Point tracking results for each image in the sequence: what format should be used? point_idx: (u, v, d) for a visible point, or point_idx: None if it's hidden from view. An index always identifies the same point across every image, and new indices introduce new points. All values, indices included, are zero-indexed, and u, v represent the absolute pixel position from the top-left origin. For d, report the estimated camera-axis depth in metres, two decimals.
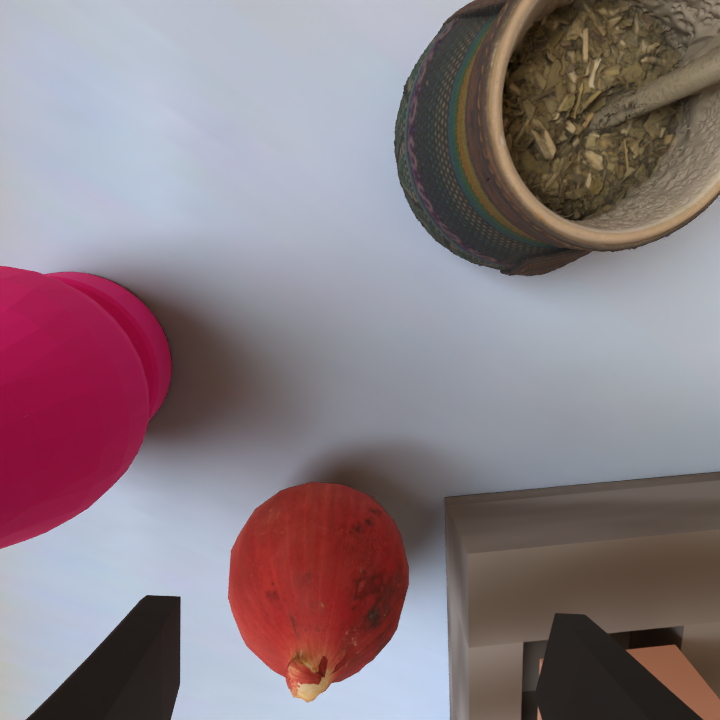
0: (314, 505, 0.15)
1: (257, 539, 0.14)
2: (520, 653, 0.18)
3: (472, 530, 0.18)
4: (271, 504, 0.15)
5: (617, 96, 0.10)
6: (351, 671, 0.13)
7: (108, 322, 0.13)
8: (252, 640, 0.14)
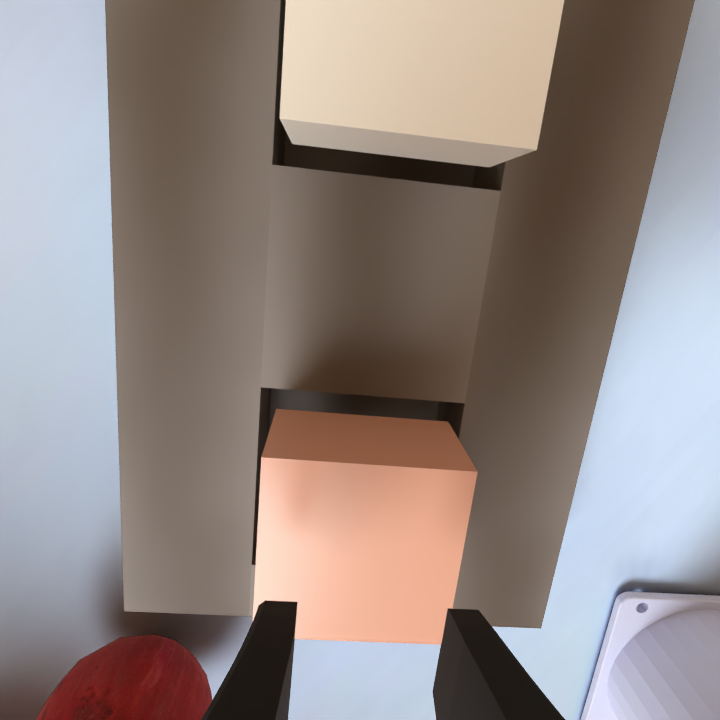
0: None
1: None
2: None
3: None
4: None
5: None
6: None
7: None
8: None
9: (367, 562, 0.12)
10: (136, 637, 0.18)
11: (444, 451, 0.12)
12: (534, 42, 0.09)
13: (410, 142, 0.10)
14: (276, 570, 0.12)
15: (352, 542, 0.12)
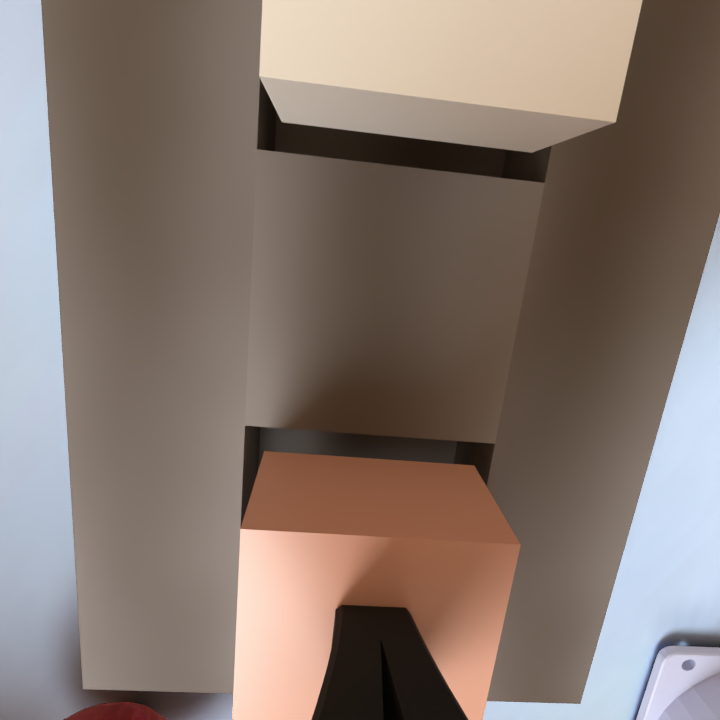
0: None
1: None
2: None
3: None
4: None
5: None
6: None
7: None
8: None
9: None
10: (103, 709, 0.15)
11: (474, 511, 0.10)
12: None
13: (438, 114, 0.07)
14: (261, 667, 0.09)
15: None
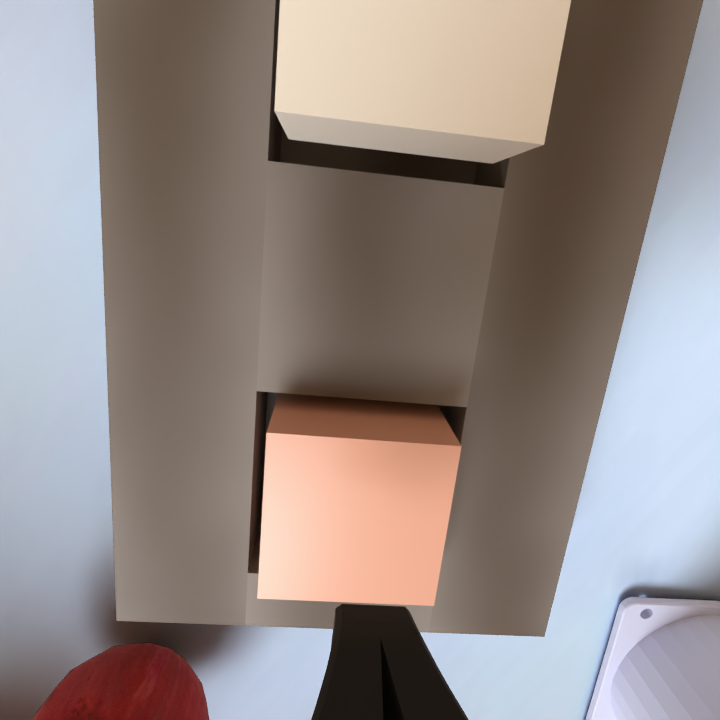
0: None
1: None
2: None
3: None
4: None
5: None
6: None
7: None
8: None
9: (362, 529, 0.13)
10: (130, 646, 0.17)
11: (432, 429, 0.13)
12: (542, 31, 0.09)
13: (411, 137, 0.10)
14: (279, 536, 0.13)
15: (349, 510, 0.13)
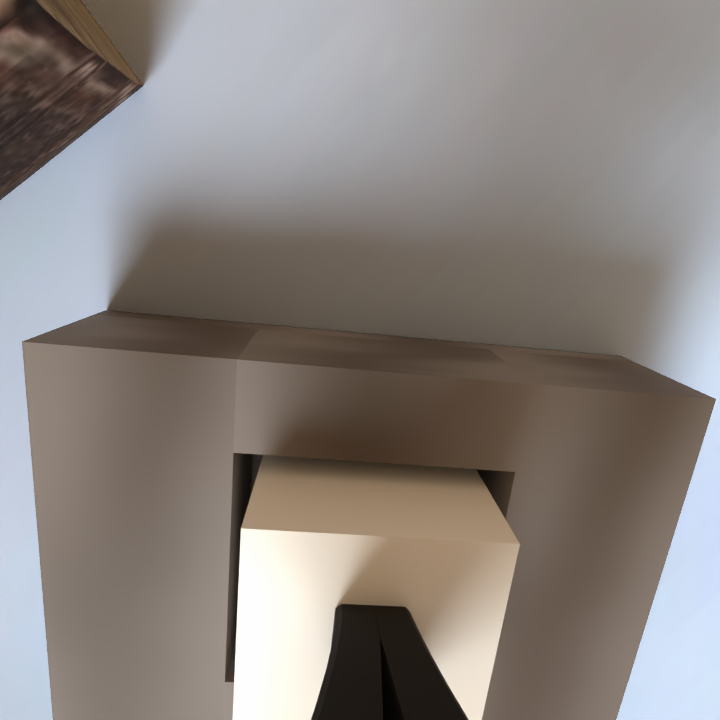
0: None
1: None
2: None
3: None
4: None
5: None
6: None
7: None
8: None
9: None
10: None
11: None
12: (469, 682, 0.10)
13: None
14: None
15: None
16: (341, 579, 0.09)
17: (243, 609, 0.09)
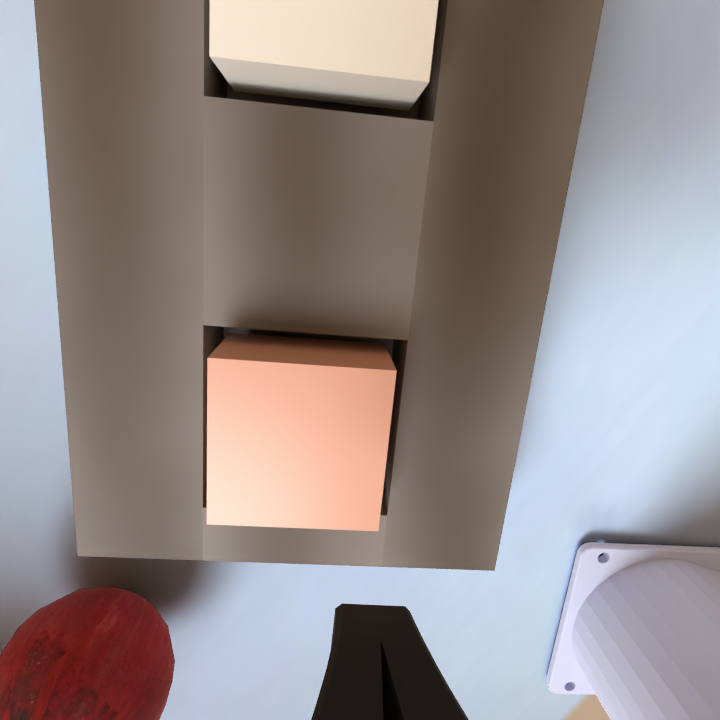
0: None
1: None
2: None
3: None
4: None
5: None
6: None
7: None
8: None
9: (304, 454, 0.14)
10: (96, 588, 0.18)
11: (372, 359, 0.14)
12: None
13: (326, 80, 0.12)
14: (225, 461, 0.14)
15: (290, 435, 0.13)
16: None
17: None
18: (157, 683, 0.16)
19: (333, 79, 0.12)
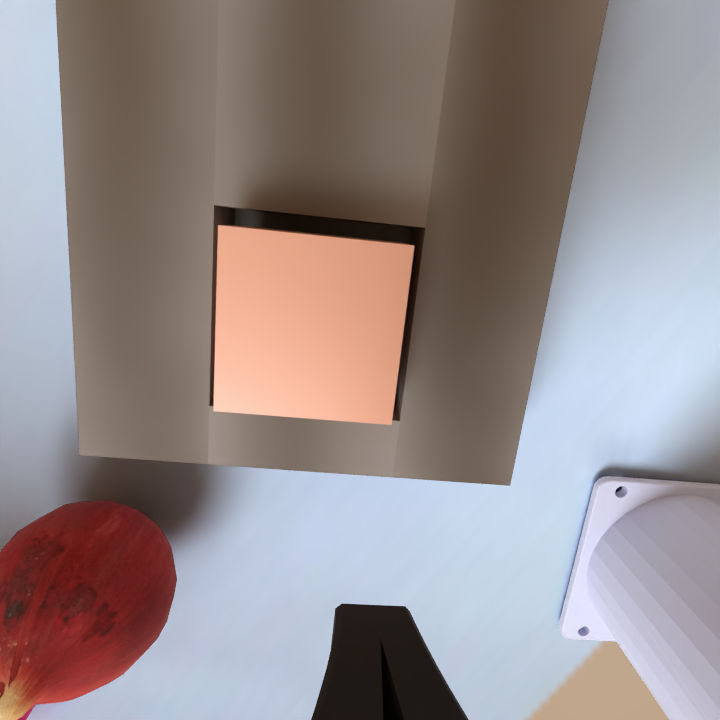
0: None
1: None
2: None
3: None
4: None
5: None
6: (58, 647, 0.13)
7: None
8: (46, 702, 0.15)
9: (316, 336, 0.13)
10: None
11: (389, 242, 0.13)
12: None
13: None
14: (234, 341, 0.13)
15: (303, 315, 0.13)
16: None
17: None
18: (158, 592, 0.16)
19: None
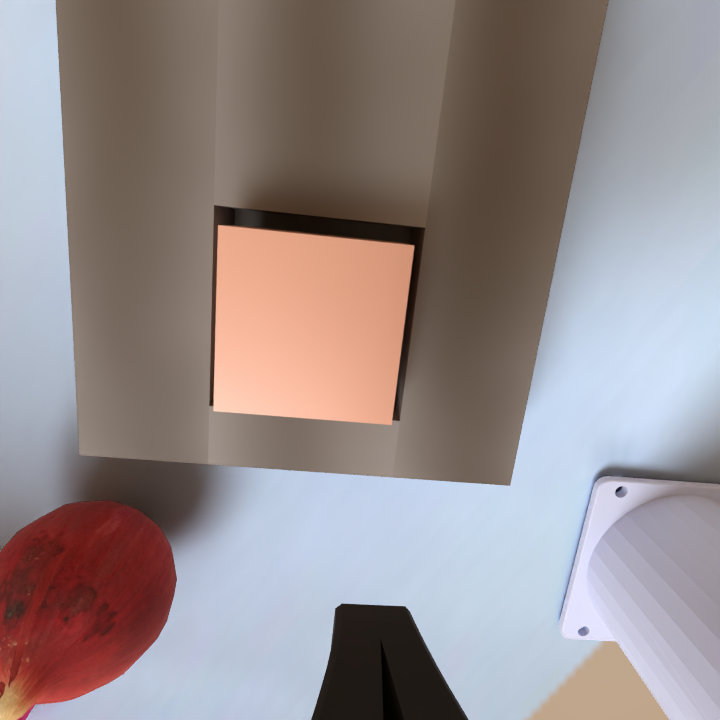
0: None
1: None
2: None
3: None
4: None
5: None
6: (58, 647, 0.13)
7: None
8: (46, 702, 0.15)
9: (316, 336, 0.13)
10: None
11: (389, 242, 0.13)
12: None
13: None
14: (234, 341, 0.13)
15: (303, 315, 0.13)
16: None
17: None
18: (158, 592, 0.16)
19: None
